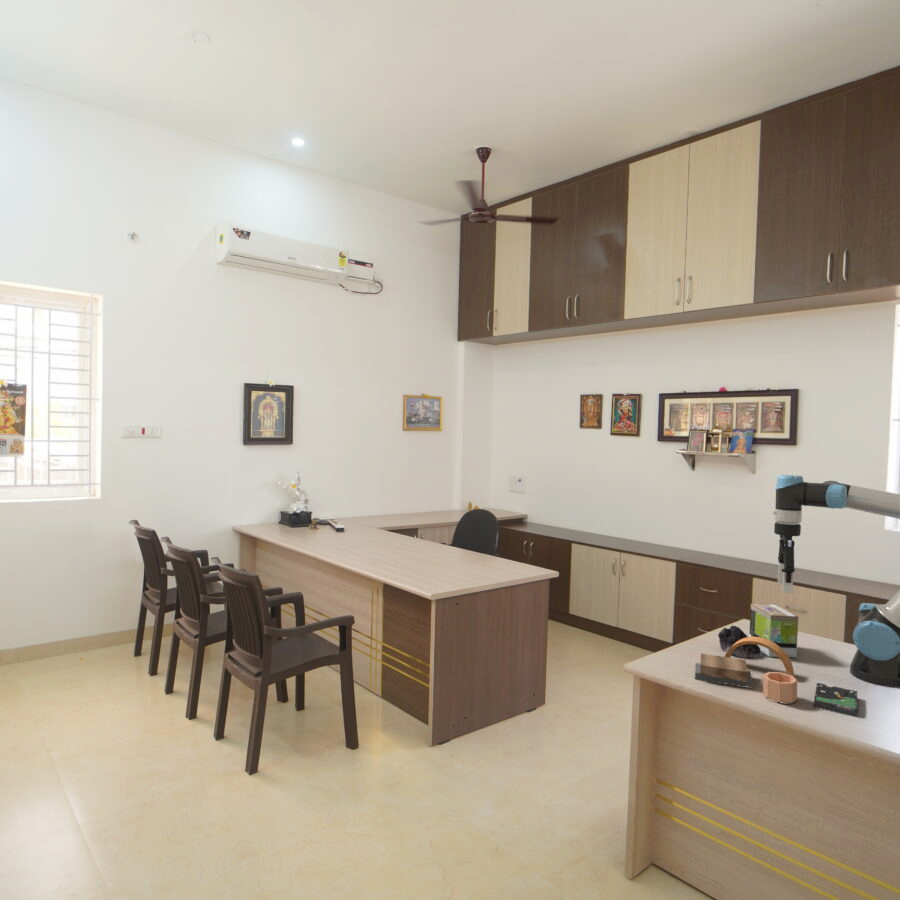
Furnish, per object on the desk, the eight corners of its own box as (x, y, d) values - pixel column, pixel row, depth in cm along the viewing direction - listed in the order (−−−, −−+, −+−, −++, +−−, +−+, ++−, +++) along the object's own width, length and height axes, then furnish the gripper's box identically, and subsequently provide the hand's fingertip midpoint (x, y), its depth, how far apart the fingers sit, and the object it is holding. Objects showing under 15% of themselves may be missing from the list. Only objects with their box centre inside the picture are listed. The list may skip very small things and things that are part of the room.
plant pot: (788, 692, 185) (788, 672, 185) (800, 704, 177) (801, 683, 177) (760, 691, 186) (759, 671, 186) (771, 703, 178) (771, 683, 178)
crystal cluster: (759, 651, 223) (758, 622, 224) (761, 660, 211) (760, 630, 212) (719, 648, 229) (717, 620, 229) (718, 656, 216) (717, 627, 217)
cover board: (744, 669, 198) (745, 659, 198) (747, 682, 188) (747, 672, 188) (700, 662, 203) (700, 653, 203) (700, 674, 193) (700, 664, 192)
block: (750, 677, 197) (750, 671, 196) (752, 688, 188) (752, 681, 188) (695, 669, 202) (695, 662, 202) (694, 679, 194) (695, 672, 194)
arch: (790, 680, 195) (791, 649, 195) (722, 664, 207) (723, 634, 207) (793, 675, 200) (795, 644, 199) (727, 660, 212) (728, 630, 212)
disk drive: (815, 691, 189) (813, 708, 176) (816, 682, 188) (814, 699, 176) (856, 700, 183) (857, 718, 170) (857, 690, 183) (858, 708, 170)
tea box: (797, 658, 215) (799, 615, 214) (768, 657, 215) (770, 614, 214) (775, 643, 230) (777, 603, 229) (747, 642, 230) (749, 602, 229)
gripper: (770, 517, 216) (768, 578, 216) (778, 526, 193) (776, 595, 193) (795, 518, 213) (792, 580, 214) (806, 528, 190) (803, 598, 190)
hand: (784, 587), depth 203 cm, fingers open, 13 cm apart
